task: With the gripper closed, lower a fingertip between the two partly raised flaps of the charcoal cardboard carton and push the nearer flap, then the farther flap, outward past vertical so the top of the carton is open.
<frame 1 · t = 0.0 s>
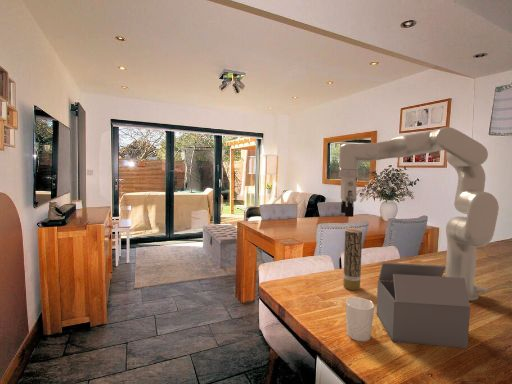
hand: (346, 214, 117), 31 cm above the table, tool pointing down, fingers open, 9 cm apart
flap 2: (430, 289, 80), point 16 cm above the table, hinge at 65.0°
paper tube: (351, 287, 119), on the table
white cup: (358, 335, 84), on the table
carton: (417, 329, 88), on the table
flap 1: (410, 273, 93), point 16 cm above the table, hinge at 65.0°
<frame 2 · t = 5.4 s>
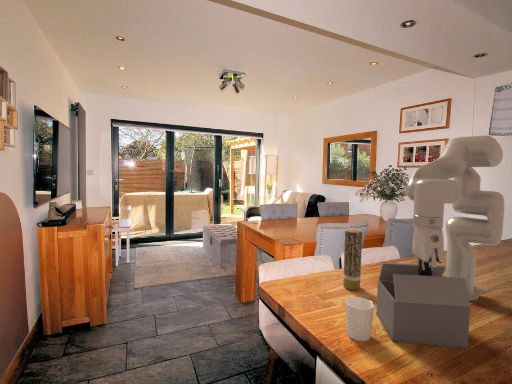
hand: (424, 282, 84), 16 cm above the table, tool pointing down, fingers closed
flap 2: (430, 289, 80), point 16 cm above the table, hinge at 67.2°, touching gripper
everything else where it was.
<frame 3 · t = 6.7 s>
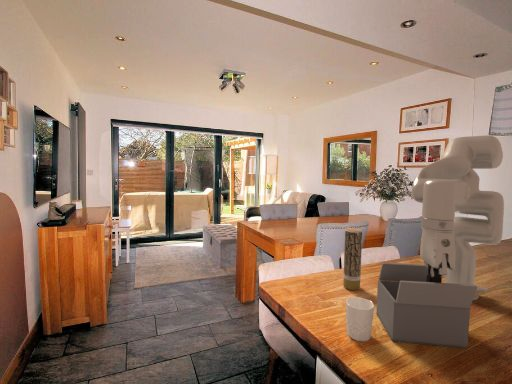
hand: (433, 289, 78), 17 cm above the table, tool pointing down, fingers closed
flap 2: (435, 294, 77), point 16 cm above the table, hinge at 108.7°, touching gripper
everything else where it was.
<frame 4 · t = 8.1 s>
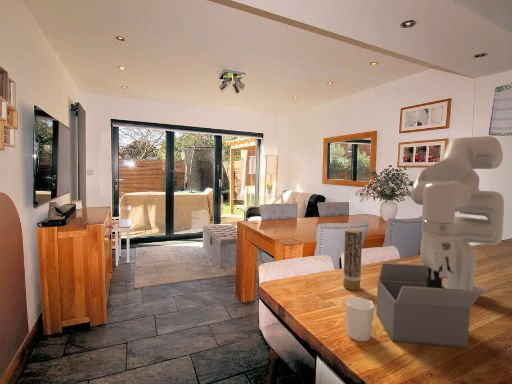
hand: (433, 292, 78), 16 cm above the table, tool pointing down, fingers closed
flap 2: (436, 297, 76), point 15 cm above the table, hinge at 123.1°
everything else where it was.
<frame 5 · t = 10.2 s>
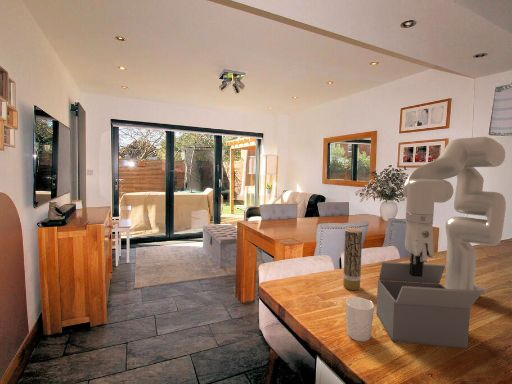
hand: (415, 275, 90), 16 cm above the table, tool pointing down, fingers closed
flap 1: (410, 272, 93), point 16 cm above the table, hinge at 68.0°, touching gripper
everything else where it was.
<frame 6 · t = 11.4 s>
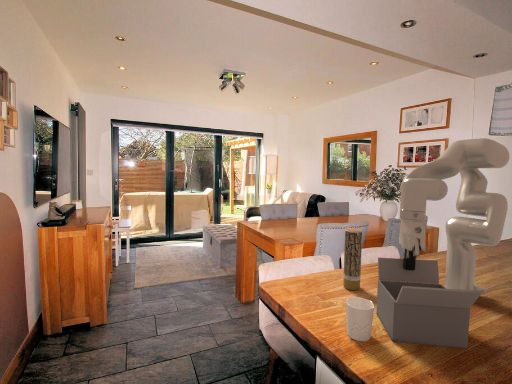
hand: (408, 269, 94), 16 cm above the table, tool pointing down, fingers closed
flap 1: (407, 270, 96), point 16 cm above the table, hinge at 104.7°, touching gripper
everything else where it was.
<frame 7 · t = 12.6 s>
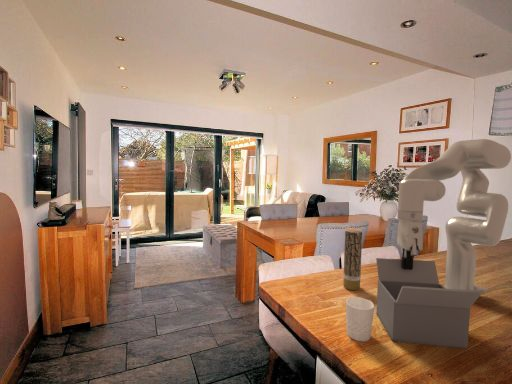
hand: (406, 268, 96), 16 cm above the table, tool pointing down, fingers closed
flap 1: (406, 270, 97), point 15 cm above the table, hinge at 120.7°, touching gripper
everything else where it was.
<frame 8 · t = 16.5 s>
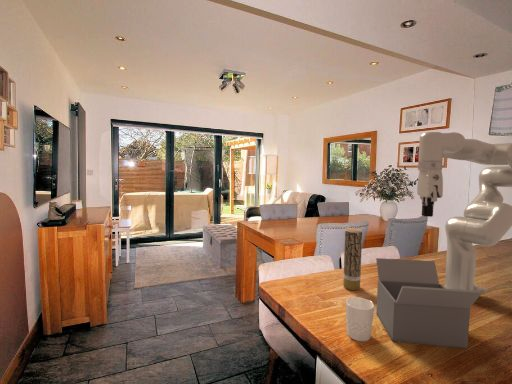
hand: (427, 216, 104), 33 cm above the table, tool pointing down, fingers closed
flap 1: (406, 270, 97), point 15 cm above the table, hinge at 121.1°
everything else where it was.
at the end: flap 2 at +123° (first picture: +65°); flap 1 at +121° (first picture: +65°) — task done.
